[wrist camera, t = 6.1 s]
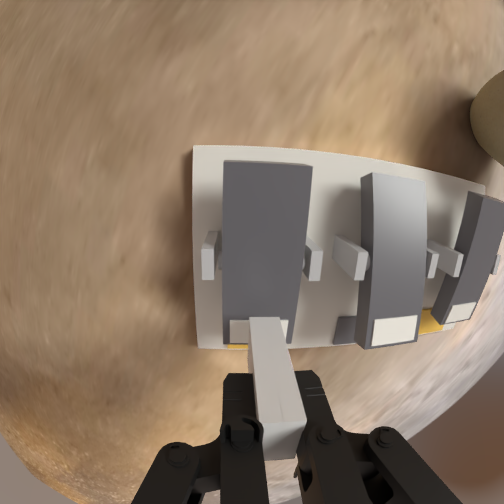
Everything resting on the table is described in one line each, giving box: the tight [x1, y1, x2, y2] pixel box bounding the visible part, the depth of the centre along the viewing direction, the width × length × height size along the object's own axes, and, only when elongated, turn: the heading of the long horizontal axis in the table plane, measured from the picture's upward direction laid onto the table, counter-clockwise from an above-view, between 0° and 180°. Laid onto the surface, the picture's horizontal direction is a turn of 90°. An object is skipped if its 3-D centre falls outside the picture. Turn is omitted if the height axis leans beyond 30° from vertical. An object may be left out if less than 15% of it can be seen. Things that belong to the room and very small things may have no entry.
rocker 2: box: [354, 172, 427, 350], centre depth 15 cm, size 10×4×2 cm, turn 178°
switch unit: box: [192, 145, 501, 349], centre depth 17 cm, size 14×24×5 cm, turn 88°
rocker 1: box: [218, 160, 313, 345], centre depth 14 cm, size 10×4×2 cm, turn 178°
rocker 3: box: [430, 191, 504, 325], centre depth 15 cm, size 10×4×2 cm, turn 178°
